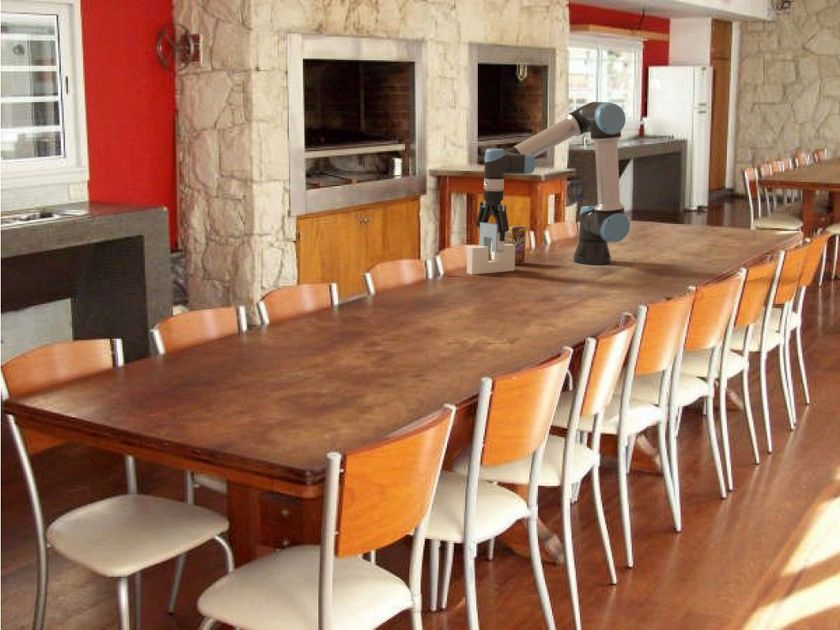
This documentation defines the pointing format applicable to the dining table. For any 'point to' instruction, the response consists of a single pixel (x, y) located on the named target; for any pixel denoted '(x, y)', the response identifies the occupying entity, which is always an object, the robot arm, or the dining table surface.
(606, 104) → the robot arm
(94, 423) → the dining table surface
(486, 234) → the light blue arch block
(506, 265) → the slotted stand
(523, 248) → the candy box
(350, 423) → the dining table surface
